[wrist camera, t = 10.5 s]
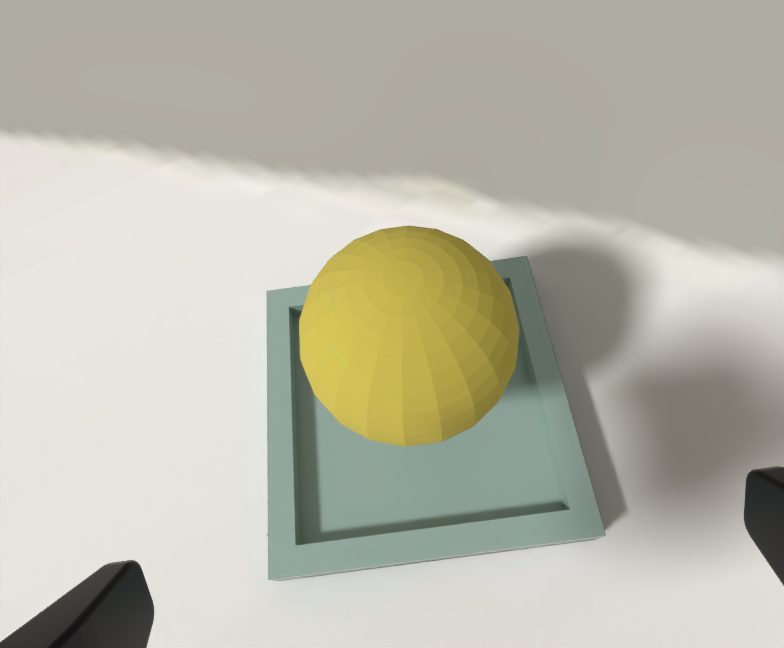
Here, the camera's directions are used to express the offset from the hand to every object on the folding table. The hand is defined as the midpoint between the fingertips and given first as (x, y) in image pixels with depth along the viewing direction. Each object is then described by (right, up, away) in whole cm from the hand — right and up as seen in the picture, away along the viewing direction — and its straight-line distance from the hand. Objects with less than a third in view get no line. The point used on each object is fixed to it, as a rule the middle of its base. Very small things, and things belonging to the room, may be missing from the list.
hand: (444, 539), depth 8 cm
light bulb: (0, 0, +15) cm, 15 cm away
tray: (0, 0, +15) cm, 15 cm away
